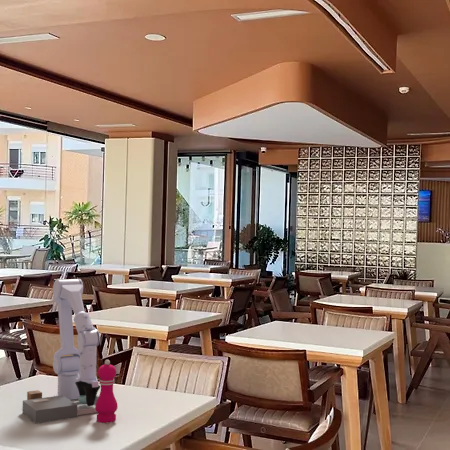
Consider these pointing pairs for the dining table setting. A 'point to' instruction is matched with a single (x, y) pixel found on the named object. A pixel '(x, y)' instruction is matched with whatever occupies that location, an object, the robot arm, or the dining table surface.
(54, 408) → the box
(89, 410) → the tray
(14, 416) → the dining table surface
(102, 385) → the pepper mill
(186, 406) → the dining table surface
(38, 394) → the walnut block
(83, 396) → the disc
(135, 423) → the dining table surface
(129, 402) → the dining table surface
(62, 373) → the robot arm
